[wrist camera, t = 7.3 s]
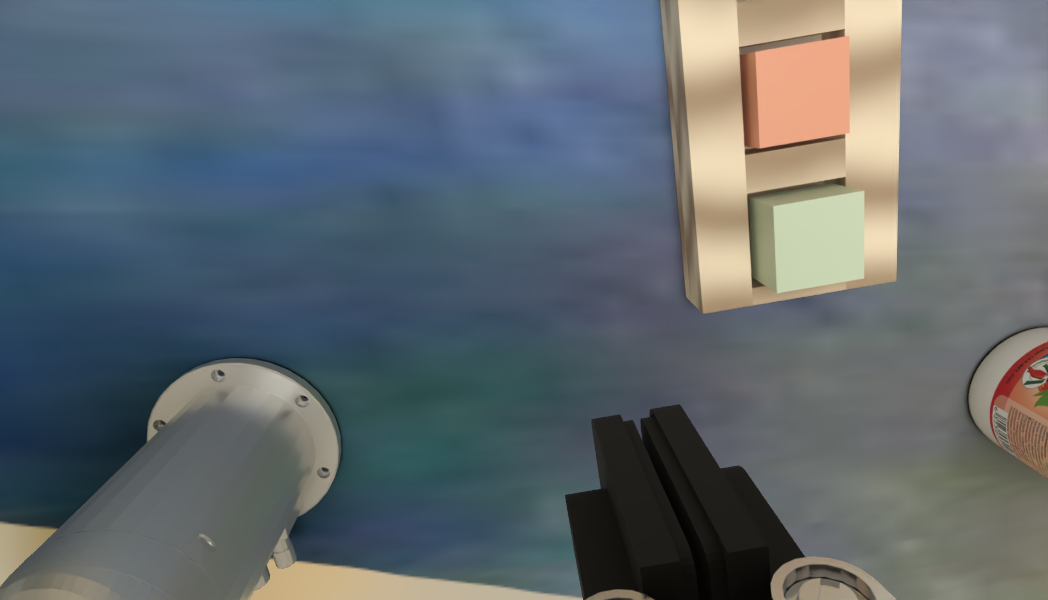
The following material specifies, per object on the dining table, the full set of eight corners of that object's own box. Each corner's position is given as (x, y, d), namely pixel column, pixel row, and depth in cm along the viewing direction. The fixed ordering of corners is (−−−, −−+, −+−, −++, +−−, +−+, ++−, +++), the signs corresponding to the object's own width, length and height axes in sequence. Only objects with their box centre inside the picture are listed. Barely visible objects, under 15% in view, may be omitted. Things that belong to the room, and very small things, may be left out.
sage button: (832, 263, 39) (864, 278, 35) (752, 277, 39) (776, 293, 35) (830, 183, 37) (864, 190, 34) (748, 197, 37) (773, 206, 34)
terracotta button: (817, 130, 38) (849, 133, 34) (736, 144, 38) (759, 148, 34) (816, 42, 36) (849, 35, 33) (731, 56, 36) (755, 51, 33)
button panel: (863, 266, 42) (896, 280, 38) (686, 297, 42) (703, 313, 38) (865, -151, 34) (905, -178, 31) (649, -114, 34) (666, -137, 31)
